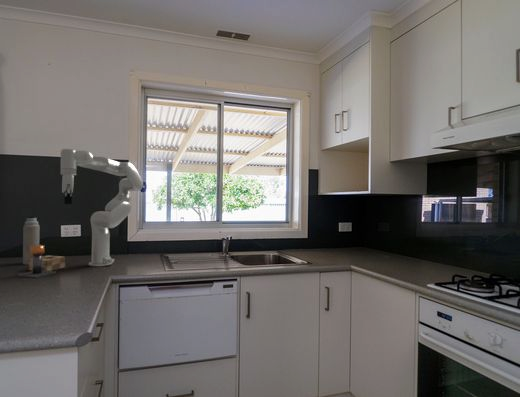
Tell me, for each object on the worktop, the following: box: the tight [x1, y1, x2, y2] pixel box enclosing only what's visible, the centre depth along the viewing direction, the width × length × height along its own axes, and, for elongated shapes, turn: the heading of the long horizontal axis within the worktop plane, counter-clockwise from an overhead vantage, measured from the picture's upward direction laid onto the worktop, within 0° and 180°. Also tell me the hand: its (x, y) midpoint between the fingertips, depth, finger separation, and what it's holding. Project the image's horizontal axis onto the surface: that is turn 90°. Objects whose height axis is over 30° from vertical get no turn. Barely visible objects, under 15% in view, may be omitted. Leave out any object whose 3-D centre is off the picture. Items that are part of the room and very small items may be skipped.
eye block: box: [28, 255, 66, 271], centre depth 189 cm, size 12×12×6 cm
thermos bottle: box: [22, 215, 41, 265], centre depth 202 cm, size 8×8×28 cm
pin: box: [30, 244, 45, 274], centre depth 174 cm, size 6×6×14 cm
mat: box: [16, 270, 57, 279], centre depth 174 cm, size 12×12×1 cm
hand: (68, 203), depth 184 cm, fingers open, 9 cm apart
